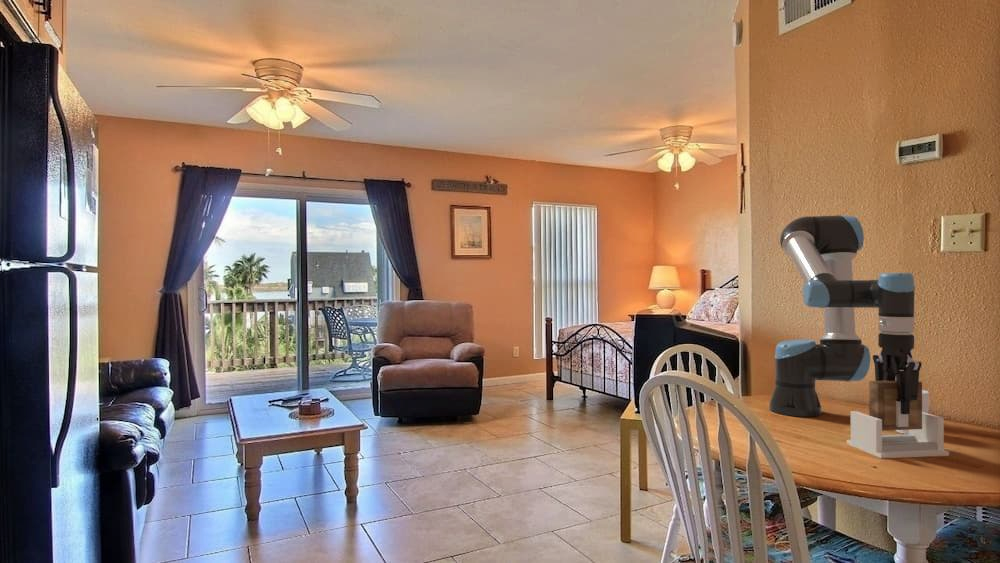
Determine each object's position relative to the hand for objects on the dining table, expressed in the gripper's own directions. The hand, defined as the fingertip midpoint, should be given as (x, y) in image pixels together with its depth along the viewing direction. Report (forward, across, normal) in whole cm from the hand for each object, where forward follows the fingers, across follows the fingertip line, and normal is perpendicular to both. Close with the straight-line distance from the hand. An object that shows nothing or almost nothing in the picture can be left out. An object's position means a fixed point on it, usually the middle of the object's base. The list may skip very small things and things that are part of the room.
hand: (896, 424), depth 145 cm
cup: (+7, -14, +16) cm, 22 cm away
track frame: (+6, 0, 0) cm, 6 cm away
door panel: (+1, 0, 0) cm, 1 cm away
